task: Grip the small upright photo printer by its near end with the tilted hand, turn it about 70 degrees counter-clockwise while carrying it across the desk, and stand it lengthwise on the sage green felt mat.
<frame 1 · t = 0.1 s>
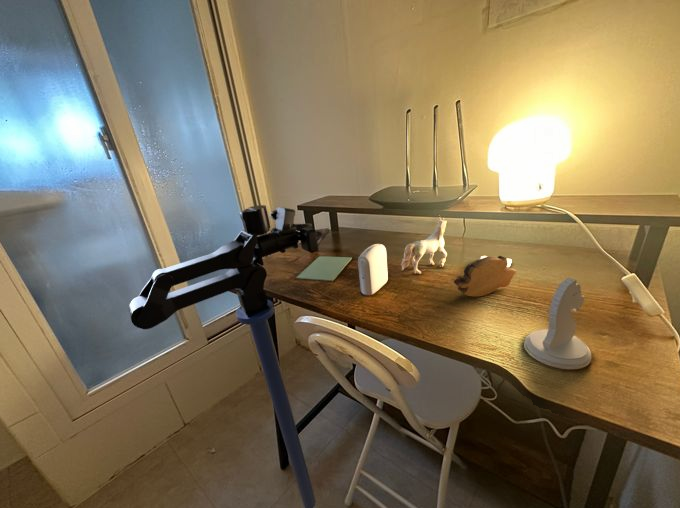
hand: (319, 227, 90), 16 cm above the table, tool horizontal, fingers open, 9 cm apart
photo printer: (374, 288, 86), on the table
wooden carving: (482, 293, 76), on the table
felt mat: (325, 268, 103), on the table
chess piece: (555, 351, 55), on the table
unicorn figurine: (423, 265, 95), on the table
hard drive: (490, 271, 86), on the table
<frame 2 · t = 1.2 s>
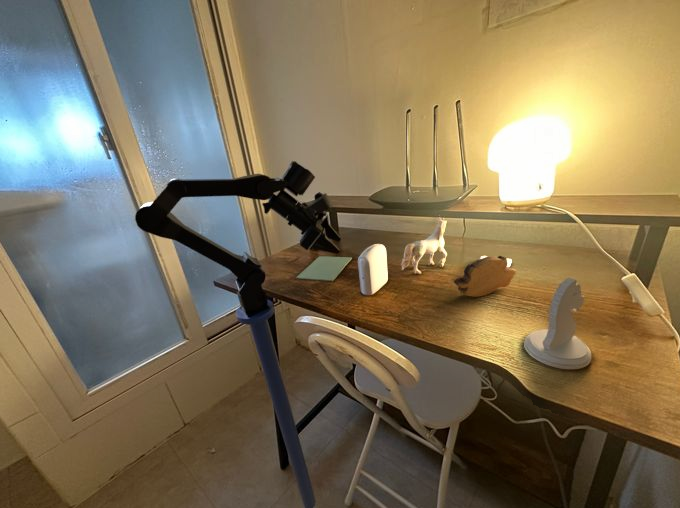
hand: (339, 246, 81), 14 cm above the table, tool tilted 45°, fingers open, 9 cm apart
nothing on the table moved.
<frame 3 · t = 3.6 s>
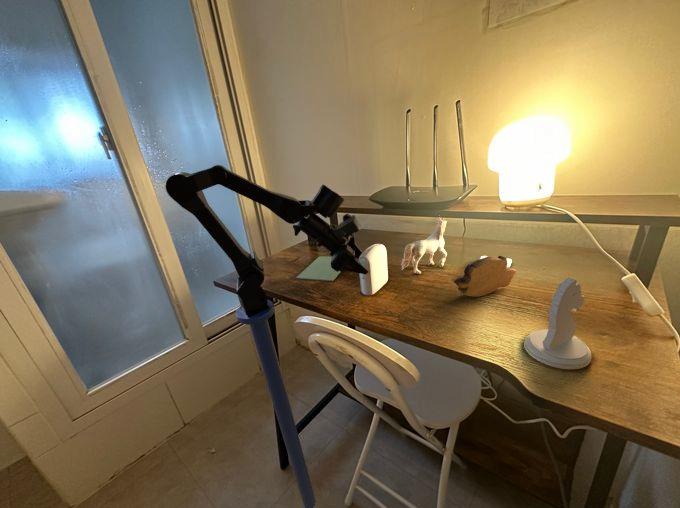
hand: (366, 265, 83), 7 cm above the table, tool tilted 45°, fingers open, 9 cm apart
nothing on the table moved.
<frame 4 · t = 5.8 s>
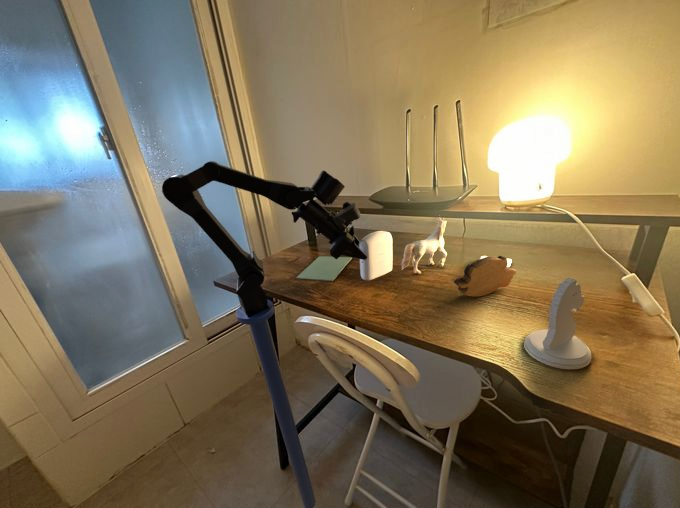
hand: (365, 255, 82), 10 cm above the table, tool tilted 45°, fingers closed on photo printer, 4 cm apart
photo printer: (376, 275, 86), point 3 cm above the table, touching gripper
everything else where it was.
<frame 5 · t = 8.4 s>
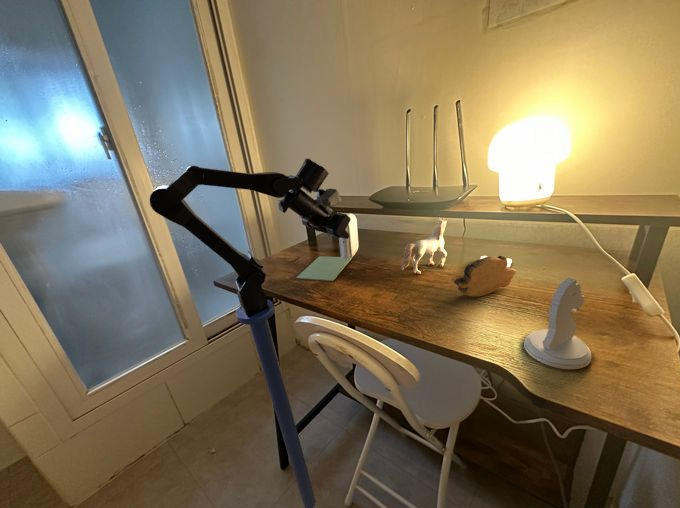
hand: (343, 235, 90), 13 cm above the table, tool tilted 45°, fingers closed on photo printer, 4 cm apart
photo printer: (350, 254, 95), point 6 cm above the table, touching gripper
everything else where it was.
when the fingers open (8 cm above the table, at t = 12.5 s): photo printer stays where it is, resting on felt mat.
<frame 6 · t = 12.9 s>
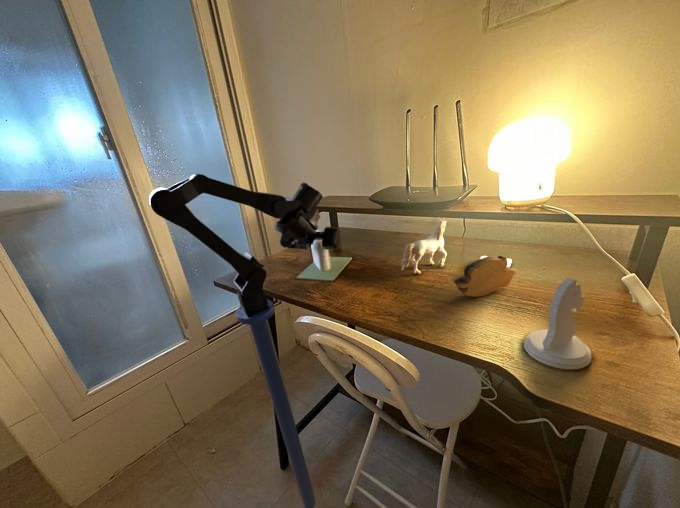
hand: (320, 248, 98), 8 cm above the table, tool tilted 45°, fingers open, 9 cm apart
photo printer: (322, 266, 104), resting on felt mat
everything else where it was.
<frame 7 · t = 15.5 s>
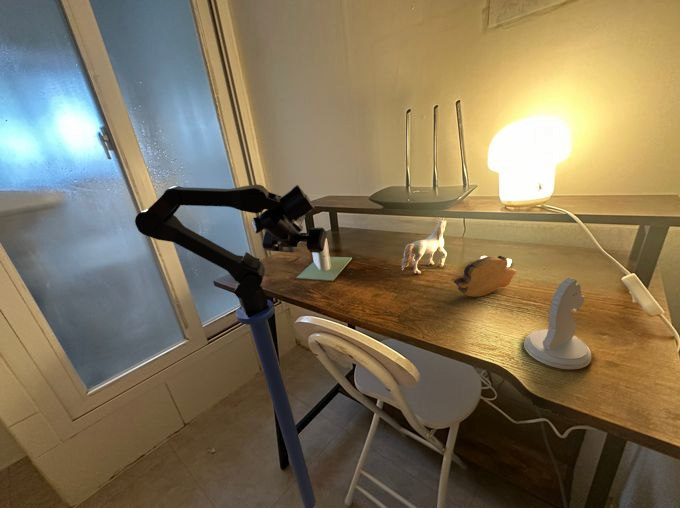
hand: (306, 251, 91), 10 cm above the table, tool tilted 45°, fingers open, 9 cm apart
nothing on the table moved.
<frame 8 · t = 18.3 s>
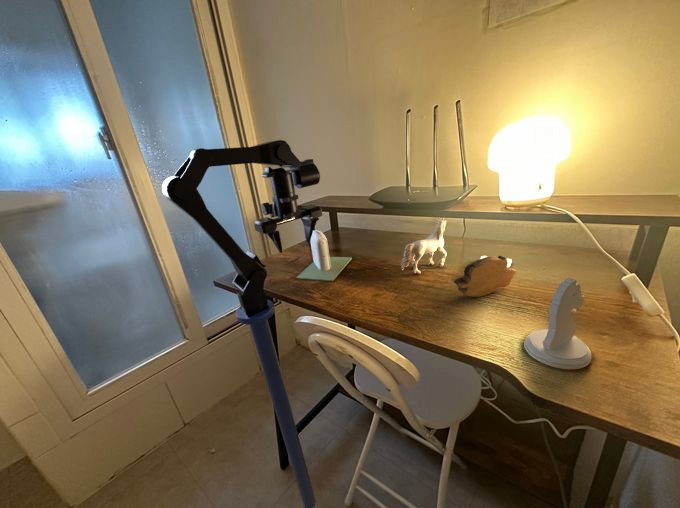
hand: (294, 247, 87), 13 cm above the table, tool pointing down, fingers open, 9 cm apart
nothing on the table moved.
at the end: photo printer inside the target area (1.8 cm from its centre), resting on felt mat; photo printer tilted 0°; the gripper is holding nothing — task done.
